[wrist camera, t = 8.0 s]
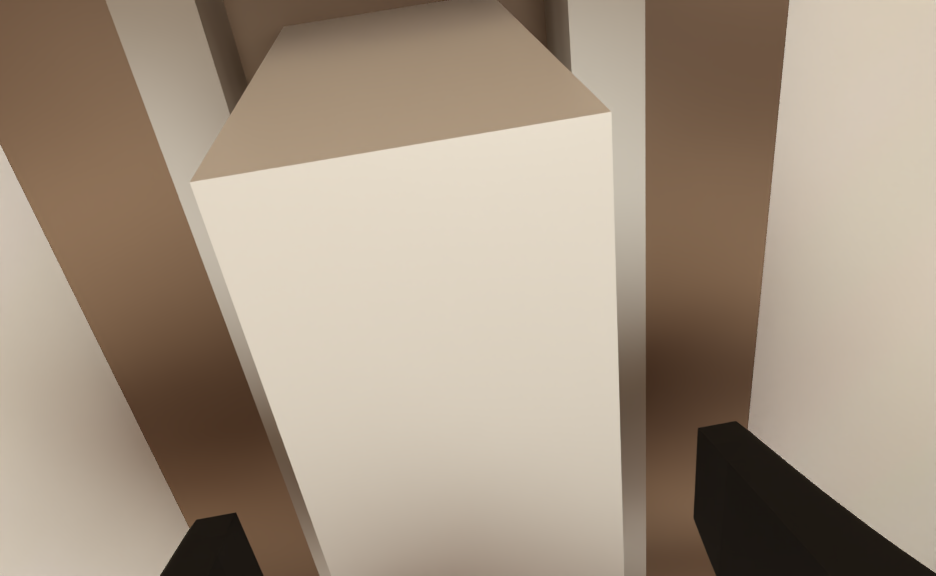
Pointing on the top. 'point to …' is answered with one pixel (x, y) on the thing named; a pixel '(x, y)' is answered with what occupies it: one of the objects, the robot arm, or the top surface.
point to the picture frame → (208, 299)
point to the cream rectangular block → (430, 290)
